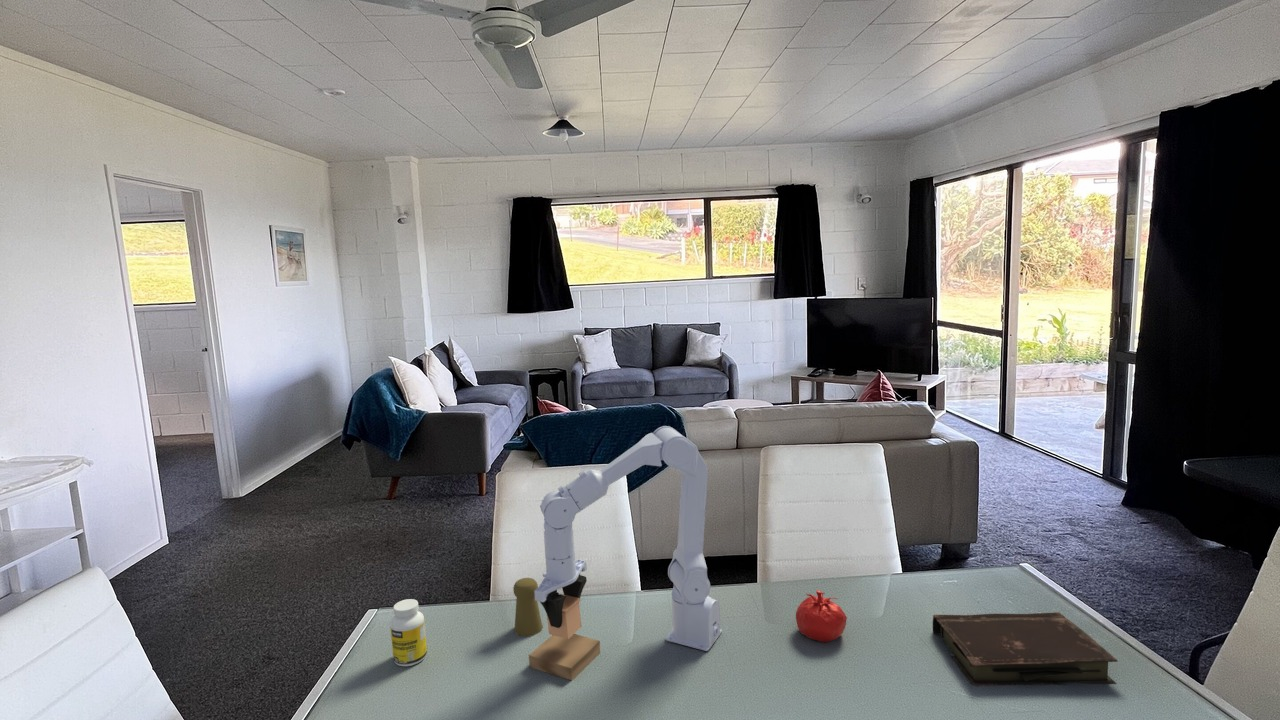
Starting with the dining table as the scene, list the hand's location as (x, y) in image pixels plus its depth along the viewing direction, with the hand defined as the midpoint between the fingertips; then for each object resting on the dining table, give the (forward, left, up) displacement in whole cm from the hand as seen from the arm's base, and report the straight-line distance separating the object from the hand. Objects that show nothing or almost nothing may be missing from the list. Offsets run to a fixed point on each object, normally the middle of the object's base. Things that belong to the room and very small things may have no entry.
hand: (564, 619), depth 129 cm
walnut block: (0, 0, -9) cm, 9 cm away
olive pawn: (+14, -6, -9) cm, 18 cm away
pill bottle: (+29, +13, -9) cm, 33 cm away
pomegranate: (-43, -30, -9) cm, 53 cm away
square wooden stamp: (0, 0, -2) cm, 2 cm away
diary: (-78, -37, -9) cm, 87 cm away
